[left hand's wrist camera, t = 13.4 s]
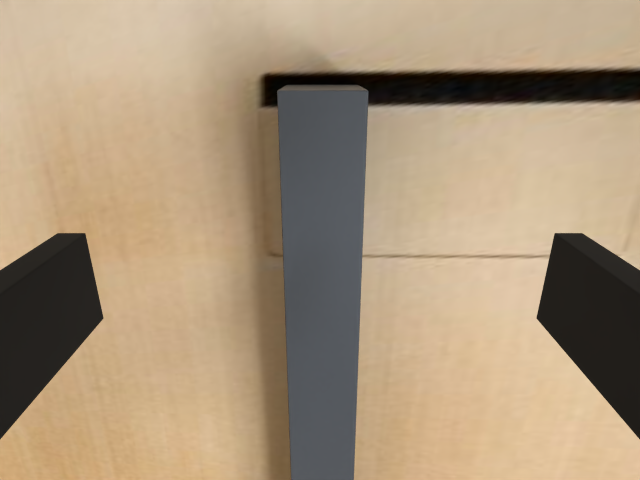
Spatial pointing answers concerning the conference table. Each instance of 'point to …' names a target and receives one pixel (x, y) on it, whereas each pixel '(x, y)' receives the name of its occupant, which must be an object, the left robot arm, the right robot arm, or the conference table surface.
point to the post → (322, 270)
